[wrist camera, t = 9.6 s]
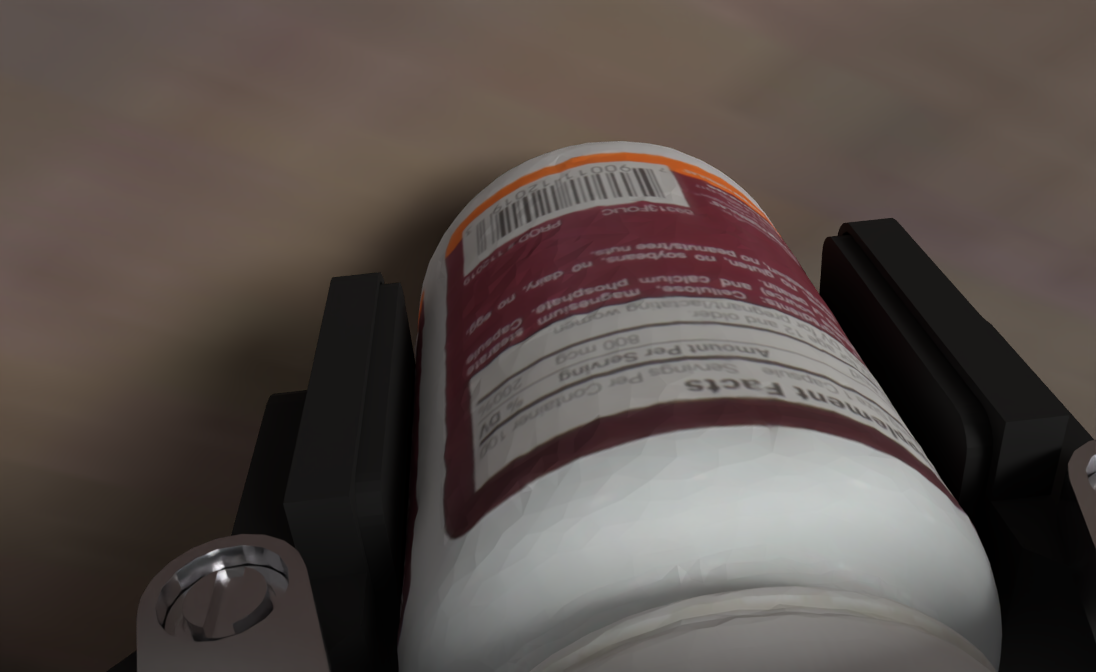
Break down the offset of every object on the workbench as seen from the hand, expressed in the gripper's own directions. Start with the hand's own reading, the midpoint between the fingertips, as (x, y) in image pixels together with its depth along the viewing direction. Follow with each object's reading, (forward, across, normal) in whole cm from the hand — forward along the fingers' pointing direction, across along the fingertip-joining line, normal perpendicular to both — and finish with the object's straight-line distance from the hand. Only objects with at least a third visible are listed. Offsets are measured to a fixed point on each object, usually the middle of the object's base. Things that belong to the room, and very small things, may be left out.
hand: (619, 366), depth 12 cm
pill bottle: (+2, 0, 0) cm, 2 cm away
